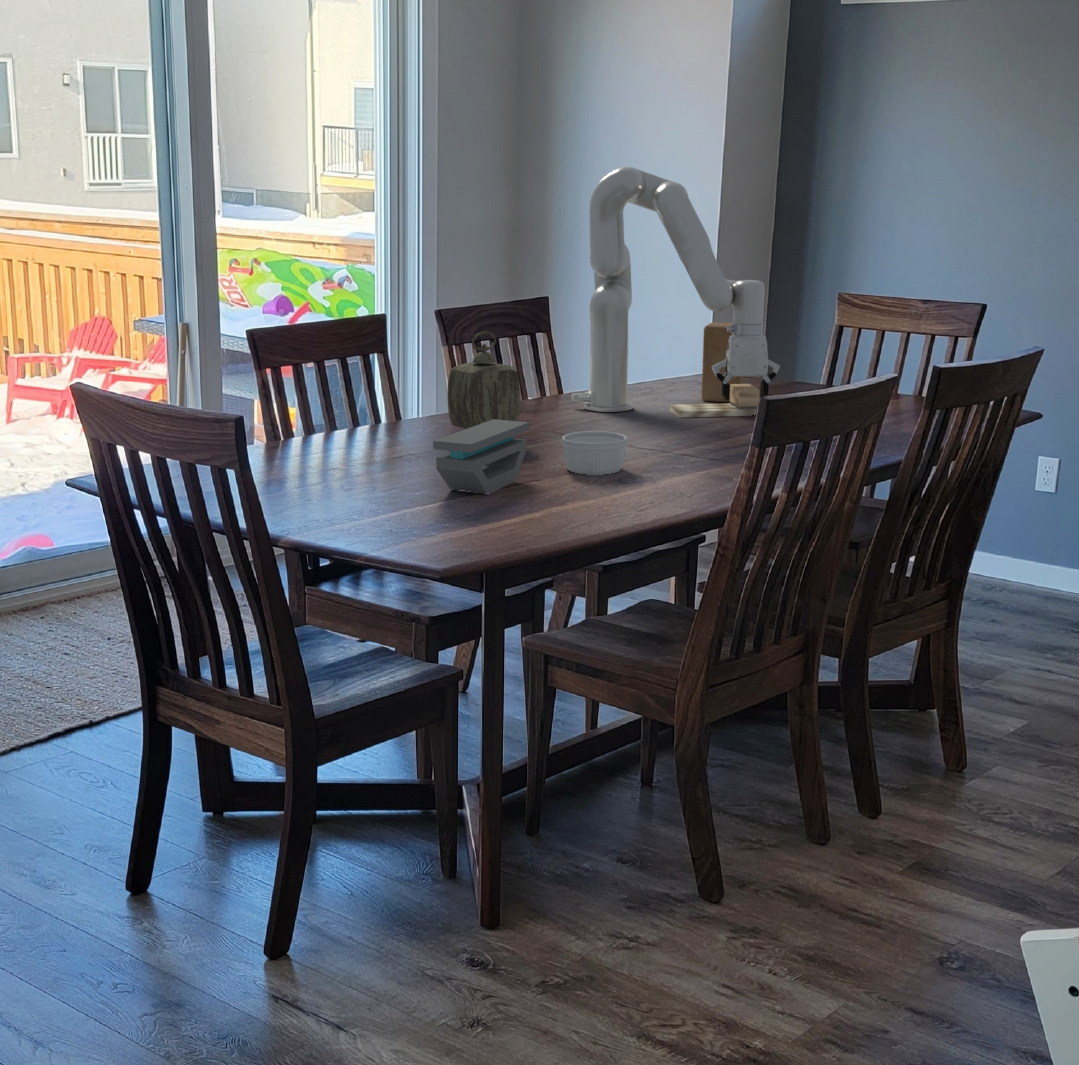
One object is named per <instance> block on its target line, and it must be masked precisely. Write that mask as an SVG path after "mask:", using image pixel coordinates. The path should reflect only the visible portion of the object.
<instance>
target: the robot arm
mask: <svg viewBox="0 0 1079 1065" xmlns="http://www.w3.org/2000/svg"><path fill="white" fill-rule="evenodd" d="M591 194H592V195H591V197H590V201H589V210H588V211H589V248H590V249H589V263H590V266H591V268H592V270H593V277H594V292H593V293H592V295H591V298H590V302H589V303H590V304H589V320H590V321H589V323H590V324H589V326H590V343H589V344H590V354H589V355H590V356H589V357H590V360H589V362H590V365H589V366H590V368H589V378H590V380H589V389H586V391H583V393H571V401H572V402H583V409H585V410H588V411H593V412H600V413H615V412H616V413H619V412H626V411H627V412H628V411H630V410H632V409H634V404H633V402H630V401H628V373H629V372H628V370H629V369H628V368H629V367H628V366H629V310H630V308H631V305H632V303H633V302H632V301H633V300H632V299H633V298H632V297H633V295H632V294H633V292H632V290H633V289H632V272H631V270H632V269H631V268H632V266H631V265H632V264H631V254H630V251H629V248H628V246H627V244H626V243H625V233H624V232H625V230H624V229H625V223H624V221H625V220H624V210H625V206H626V205H627V204H628V203H629V204H633V205H635V206H638V207H641V208H644V209H645V210H649V211H650V212H651V211H652V212H655V213H656V215H657V216H658V218H659V220H660V222H661V224H662V225H663V227H664V229H665V231H666V234H667V235H668V237H669V239H670V242H671V243H672V245H673V248H674V249H675V251H676V253H677V255H678V257H679V259H680V261H681V263H682V265H683V267H684V268H685V271H686V272H687V274H688V276H689V279H690V280H691V283H692V284H693V286H694V288H695V290H696V292H697V294H698V295H699V296H698V297H699V298H700V300H701V302H702V303H703V305H704V307H706V308H707V309H708V310H709V311H712V312H716V313H717V312H718V313H719V312H723V311H724V310H727V309H728V308H732V322H731V323H732V325H731V326H727V332H731V333H732V336H730V337H729V341H728V345H727V351H726V359H724V360H722V361H720V362H719V363H717V364H715V365H713V366H712V369H713V371H714V373H715V376H716V377H717V378H718V379H719V380H720V381H721V382H722V393H721V394H722V396H723V398H724V399H725V400H728V399H729V391H730V385H729V384H728V382H729V381H730V379H731V378H732V377H744V378H755V377H756V378H758V377H759V378H760V379H761V382H760V386H759V387H760V388H759V389H760V392H759V398H761V399H763V398H762V397H764V396H766V397H767V396H768V395H769V386H770V385H769V384H770V383H771V381H772V380H773V379H774V378H775V377H776V376H777V374H778V372H779V370H780V369H781V365H780V364H778V363H776V362H774V361H772V360H770V359H769V356H768V354H769V353H768V341H767V336H766V335H764V311H765V310H764V309H765V308H764V307H765V287H766V286H765V283H764V282H763V281H761V280H757V279H756V280H755V279H741V280H733V279H727V278H726V277H725V275H724V273H723V271H722V270H721V267H720V265H719V264H718V261H717V259H716V257H715V254H714V252H713V249H712V244H711V241H710V238H709V235H708V233H707V231H706V230H705V228H704V226H703V224H702V222H701V219H700V217H699V216H698V214H697V212H696V209H695V207H694V206H693V203H692V202H691V200H690V198H689V194H688V191H687V189H686V188H685V187H684V186H683V185H682V184H681V183H679V182H676V181H672V180H669V179H666V178H663V177H660V176H657V175H655V174H652V173H648V172H646V171H643V170H640V169H639V168H635V167H633V166H632V167H630V166H622V167H618V168H616V169H614V170H612V171H611V172H609V173H608V174H606V175H605V176H604V177H602V178H601V180H600V181H599V182H598V183H597V184H596V186H595V187H594V189H593V191H592V193H591ZM723 366H725V372H726V373H725V374H724V376H722V374H721V373H720V371H719V369H720V368H722V367H723ZM769 367H771V371H770V372H769V373H768V371H769Z"/></svg>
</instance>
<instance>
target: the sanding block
mask: <svg viewBox="0 0 1079 1065" xmlns="http://www.w3.org/2000/svg"><path fill="white" fill-rule="evenodd" d="M758 401H759V402H760V388H758V387H756V386H754V385H753V384H751V383H744V384H730V404H731V405H733V406H734V407H736V408H737V409H739V410H746V409H757V404H758Z"/></svg>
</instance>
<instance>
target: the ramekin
mask: <svg viewBox="0 0 1079 1065" xmlns="http://www.w3.org/2000/svg"><path fill="white" fill-rule="evenodd" d="M561 444H562V445H563V456H564V462H565V467H566V469H567V470H569V472H570V471H571V472H570V473H572V472H575V473H574V474H576V473H579V474H578V475H581V474H586V475H585V476H605V475H604V474H609V475H612V474H611V473H614V474H616V473H615V472H617V473H619V472H620V471H621V469H622V468H623V466H624V462H625V457H626V456H625V455H626V446H627V444H628V437H627V436H626V435H625V434H622V433H618V432H613V431H605V430H604V431H602V430H591V431H590V430H588V431H587V430H586V431H575V432H571V433H566V434H564V435H563V436H562V437H561Z"/></svg>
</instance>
